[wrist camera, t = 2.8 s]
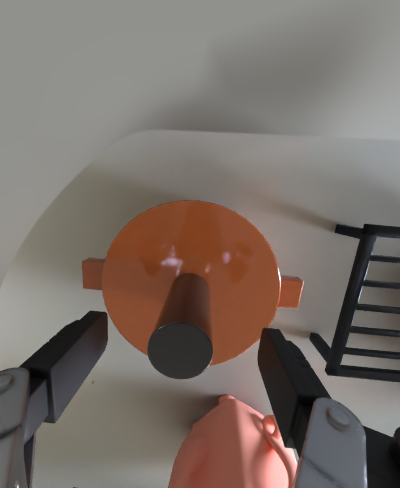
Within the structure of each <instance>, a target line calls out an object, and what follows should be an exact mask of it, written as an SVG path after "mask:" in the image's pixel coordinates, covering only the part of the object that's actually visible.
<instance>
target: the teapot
mask: <svg viewBox="0 0 400 488" xmlns="http://www.w3.org/2000/svg"><path fill="white" fill-rule="evenodd" d="M218 404H219V405H218V406H216V407H215V408H214V409H212V410H211V411H210V412H208V413H207V414H206V415H205V416H203V417H202V418H201V419H200V420H199V421H197V422H195V423H194V424H193V425H192V430H191V431H190V432H189V433H188V435H187V436H186V438H185V439H184V441H183V443H182V445H181V448H180V450H179V452H178V454H177V456H176V458H175V461H174V465H173V469H172V473H171V478H170V482H169V486H168V488H292V486H293V482H294V478H295V473H296V469H297V462H296V459H295V456H294V453H293V450H292V448H285V447H284V444H283V441H282V437H281V434H280V431H279V428H278V425H277V422H276V419H275V416H274V415H267V416H265V417H264V416H263V415H262V414H260V413H259V412H257V411H256V410H254V409H253V408H251V407H249V406H248V405H246V404H245V403H243V402H241V401H239V400H237V399H235V398H234V397H233V396H231V395H223V396H221V397H220V398H219V400H218Z"/></svg>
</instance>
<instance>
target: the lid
mask: <svg viewBox="0 0 400 488" xmlns="http://www.w3.org/2000/svg"><path fill="white" fill-rule="evenodd" d="M280 289H281V288H280V274H279V268H278V264H277V261H276V258H275V255H274V253H273V251H272V249H271V247H270V245H269V244H268V242H267V241H266V239H265V238H264V236H263V235H262V234H261V233H260V232H259V230H258V229H257V228H256V227H255V226H254V225H253V224H251V223H250V222H249V221H248V220H247V219H245V218H244V217H242V216H241V215H239V214H237V213H236V212H234V211H232V210H230V209H228V208H225V207H223V206H220V205H217V204H213V203H209V202H203V201H191V200H184V201H175V202H169V203H165V204H162V205H158V206H156V207H154V208H151V209H149V210H147V211H145V212H143V213H142V214H140V215H138V216H137V217H135V218H134V219H133V220H132V221H130V222H129V223H128V224H127V225H126V226H125V227H124V228H123V229H122V230H121V231H120V232H119V234H118V235H117V237H116V238H115V239H114V241H113V243H112V245H111V247H110V248H109V250H108V253H107V256H106V259H105V262H104V267H103V272H102V291H103V297H104V302H105V306H106V308H107V311H108V314H109V316H110V318H111V319H112V321H113V323H114V325H115V326H116V328H117V329H118V331H119V332H120V333H121V334H122V335H123V337H124V338H125V339H126V340H127V341H128V342H129V343H131V344H132V345H133V346H134V347H135V348H137V349H138V350H140V351H141V352H143V353H144V354H146V355H148V357H149V360H150V362H151V364H152V365H153V366H154V368H155V369H156V370H158V371H159V372H160V373H162V374H163V375H165V376H168V377H170V378H174V379H189V378H192V377H195V376H198V375H199V374H201V373H202V372H204V371H205V370H206V369H207V367H208V366H210V365H215V364H219V363H222V362H225V361H228V360H230V359H232V358H234V357H236V356H238V355H240V354H242V353H243V352H245V351H246V350H247V349H249V348H250V347H251V346H253V345H254V344H255V343H256V342H257V341H258V340H259V339H260V338H261V333H262V329H263V328H268V327H269V325H270V324H271V322H272V320H273V318H274V315H275V313H276V310H277V307H278V303H279V298H280Z"/></svg>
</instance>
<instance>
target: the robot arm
mask: <svg viewBox="0 0 400 488" xmlns="http://www.w3.org/2000/svg"><path fill="white" fill-rule="evenodd" d="M107 341H108V317H107V313H106V312H100V311H89V312H88V313H87V314H86V315H85V316H84V317H83V318H82V319H80V320H76V321H74V322H72V323H70V324H68V325H66V326H65V327H64V328H63V329H61V330H60V331H59V332H58V333H57V335H55V336H53V337H52V338H51V339H50V340H49V342H47V343H46V344H44V345H43V346H42V347H41V348H40V349H39V350H38V351H36V352H35V353H34V354H33V355H32V356H31V357H30V358H28V359H27V360H26V361H25V362H24V363H23V364H22V365H20V366H19V367H18V368H10V369H6V370H3V371H0V488H32V481H33V468H34V455H35V442H36V430H37V429H38V428H39V426H40V425H41V424H42V422H46V423H56V421H57V420H58V418H59V417H60V415H61V414H62V412H63V411H64V409H65V408H66V407H67V405H68V404H69V402H70V401H71V399H72V398H73V396H74V395H75V393H76V392H77V390H78V389H79V387H80V386H81V385H82V383H83V382H84V380H85V379H86V377H87V376H88V374H89V373H90V371H91V370H92V368H93V367H94V365H95V364H96V363H97V361H98V360H99V358H100V357H101V355H102V354H103V352H104V350H105V348H106V345H107ZM258 366H259V370H260V373H261V376H262V379H263V382H264V385H265V388H266V391H267V394H268V397H269V400H270V404H271V407H272V410H273V413H274V416H275V419H276V422H277V425H278V428H279V431H280V434H281V437H282V441H283V444H284V447H285V448H293V449H296V450H297V453H298V456H299V461H298V465H297V469H296V473H295V478H294V482H293V486H292V488H400V427H399V428H397V429H396V431H395V433H394V436H393V437H390V436H388V435H385V434H383V433H380V432H378V431H375V430H372V429H370V428H367V427H365V426H363V425H362V424H361V422H360V421H359V419H358V418H357V417H356V416H355V415H354V414H353V413H352V412H351V411H350V410H349V409H348V408H347V407H345V406H344V405H342V404H341V403H339V402H337V401H335V400H333V399H332V398H331V397H330V395H329V394H328V392H327V391H326V389H325V387H324V386H323V384H322V383H321V381H320V380H319V378H318V377H317V375H316V374H315V372H314V370H313V369H312V368H311V366H310V364H309V363H308V361H307V360H306V358H305V356H304V355H303V353H302V352H301V350H300V349H299V348H298V347H297V346H296V345H295V344H293V343H292V342H291V341H286V339H285V338H284V336H283V334H282V333H281V331H280V330H279V329H273V328H263V329H262V333H261V339H260V345H259V350H258ZM73 488H74V487H73Z"/></svg>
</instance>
